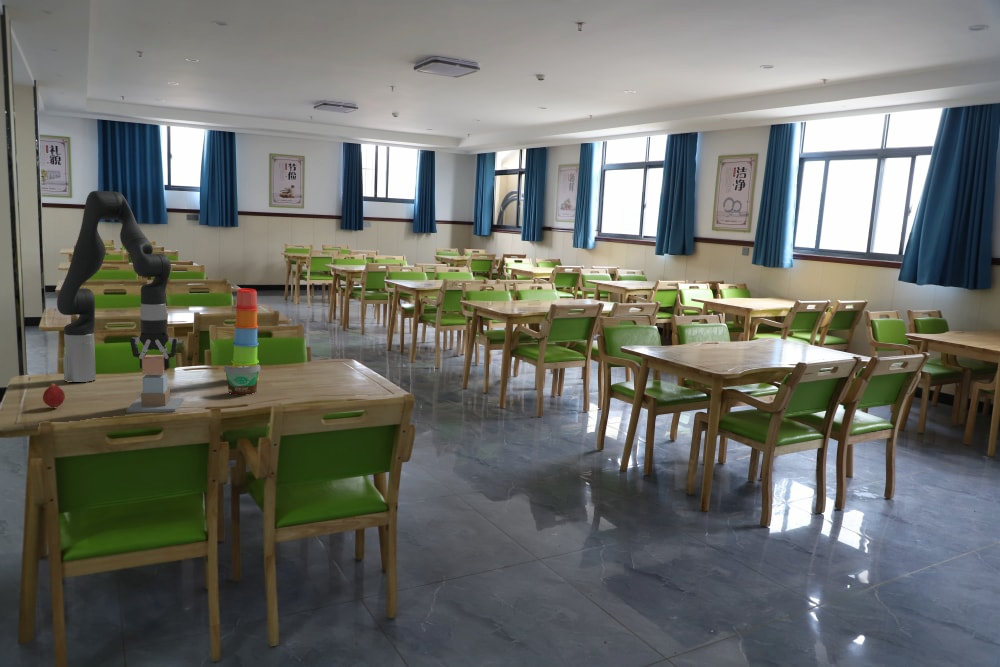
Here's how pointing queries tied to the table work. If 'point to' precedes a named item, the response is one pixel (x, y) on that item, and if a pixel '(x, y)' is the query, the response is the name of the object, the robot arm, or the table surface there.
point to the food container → (242, 379)
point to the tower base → (155, 408)
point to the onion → (53, 396)
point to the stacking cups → (246, 329)
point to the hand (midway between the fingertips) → (155, 369)
